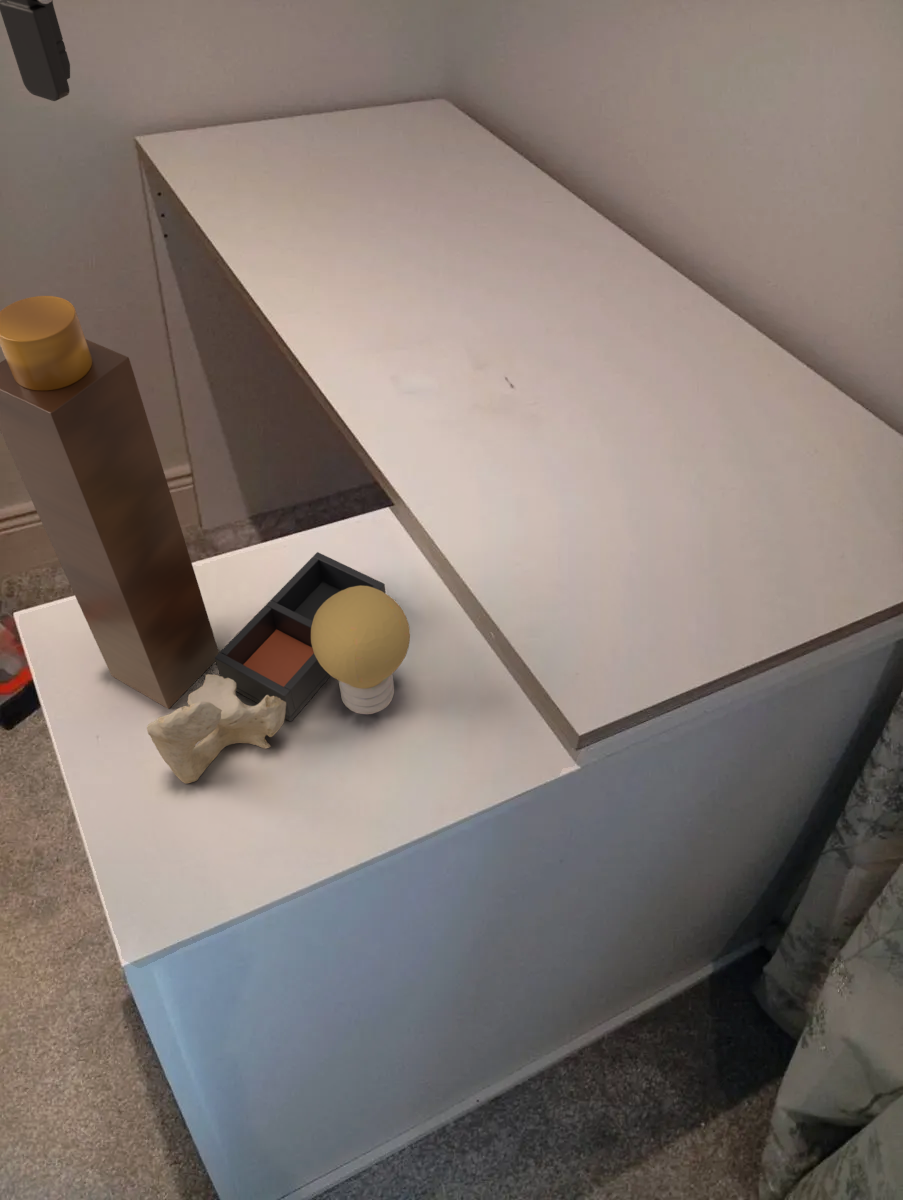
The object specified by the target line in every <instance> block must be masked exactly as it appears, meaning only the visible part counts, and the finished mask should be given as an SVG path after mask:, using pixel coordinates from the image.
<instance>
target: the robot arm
mask: <svg viewBox="0 0 903 1200" xmlns="http://www.w3.org/2000/svg"><path fill="white" fill-rule="evenodd" d="M0 14H1V18H2V21H3V24H4V27H5V30H6V34H7V36H8V39H9V43H10V45H11V49H12V52H13V55H14V58H15V61H16V65H17V67H18V71H19V74H20V78H21V80H22V83H23V86H24V88H26V90H27V91H28V92H29V93H30V94H32V95H33V96H35V97H39V98H42V99H44V100H45V99H46V100H49V101H52V102H57V101H58V100H61V99H63V98H65V97H67V96H68V95H70V85H69V82H68V80H69V79H70V78H71V63H70V59H69V55H68V52H67V50H66V44H65V42H64V38H63V35H62V31H61V27H60V23H59V20H58V17H57V13H56V9H55V6H54V0H0Z"/></svg>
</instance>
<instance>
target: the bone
mask: <svg viewBox="0 0 903 1200" xmlns="http://www.w3.org/2000/svg"><path fill="white" fill-rule="evenodd" d="M285 712H286V702H285V701H283V700H281V699H280V698H277V697H274V696H271V697H270V696H269V695H266V696H265V697H264V699H263V700H262V701H261V702H260V703H259V704H258V703H256V704H255V705H248V704H246V703H244V702H242V701H241V699H240V698H239V697H238V696H237V691H236V682H235V681H234V680H232V679H230V678H225V679H224V678H223V677H222V676H220V674H208V673H207V674H205V678H204V681H203V684H202V685H201V686H200V687H199V688H198V689H196V690H194V691H192V692H190V693H189V694H188V697H187V705H184V706H181V707H179V708H176V709H174V711H173V712H170V713H168V714H165V715H162V716H158V717H157V718H156V719H155V720H153V721H151V722H150V723H149V724H148V725H147V727H146V732H147V734H148V736H149V737H150V739H151V741H152V743H153V744H154V746H155V748H156V750H157V751H158V753H159V755H160V756H161V758H162V759H163V761H164V763H165V764H166V765H167V766H168V767H169V768H170V770H171V772H172V773H173V774H174V775H175V776H176V777H177V778H178V780H179V781H181V782H182V783H183V784H190V783H195V782H197V781H198V780H199V779H200V777H201V776H202V774H204V772H205V771H206V769H207V768H208V767H209V766H210V764H212V762H213V761H215V759H216V758H217V757H218V756H219V754H220V753H221V751H222V750H223V749H225V747H227V746H231V745H234V744H250V745H252V746H253V745H254V746H257V747H260V748H261V749H269V748H271V747H272V745H271V744H270V743H269V742H268V740H266V737H267V736H268V737H269V738H272V737H274V736H275V735H276V733H278V731H279V730H280V729H281V728H282V726H283V724H284V722H285V720H286V719H285Z"/></svg>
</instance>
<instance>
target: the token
mask: <svg viewBox="0 0 903 1200" xmlns="http://www.w3.org/2000/svg"><path fill="white" fill-rule="evenodd" d="M86 339H87V338H86V337H85V334H84V331H83V328H82V324H81V322H80V319H79V315H78V313H77V310H76V308H75V306H74V305H73V304H72V303H71V302H70V301H68V300H67V299H65V298H62V297H59V296H55V295H37V296H29V297H26V298H22V299H19V300H16V301H14V302H11V303H10V304H8V305H7V306H5V307H4V308H2V309H1V310H0V348H1V351H2V354H3V356H4V358H5V359H6V360H7V363H8V365H9V367H10V370H11V372H12V375H13V377H14V379H15V381H16V382H17V383H18V384H20V385H21V386H23V387H25V388H27V389H31V390H37V391H48V390H55V389H60V388H63V387H66V386H69V385H71V384H73V383H75V382H77V381H79V380H80V379H81V378H83V377H84V376H85V375H86V374H87V373H88V371H89V370H90V368H91V365H92V357H91V354H90V351H89V348H88V345H87V342H86Z"/></svg>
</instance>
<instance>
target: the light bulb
mask: <svg viewBox="0 0 903 1200" xmlns="http://www.w3.org/2000/svg"><path fill="white" fill-rule="evenodd" d="M410 632H411V631H410V624H409V622H408V619H407V616H406V614H405V612H404V609H403V608H402V607H401V606H400V605H399V604H398V602H396V600H395V599H394V598H393V597H391V596H390V595H388V594H387V593H386V592H385V593H384V592H382V591H380V590H378V589H375V588H373V587H369V586H354V587H350V588H347V589H344V590H342V591H340V592H338V593H336V594H334V595H333V596H331V597H330V598H329V599H327V600H326V601H325V602H324V603H323V604H322V605H321V606H320V608H319V609H318V610H317V612H316V614H315V616H314V619H313V622H312V626H311V644H312V648H313V651H314V655H315V656H316V658H317V660H318V662H319V664H320V665H321V666H322V667H323V669H324V670H325V671H326V672H327V673H329V674H330V675H331V676H330V677H332V678H333V679H335V680H337V681H338V686H339V690H340V698H341V701H342V702H343V705H345V707H346V708H348V709H349V710H350V711H351V712H353V713H356V714H359V715H360V714H361V715H373V714H376V713H378V712H381V711H383V710H384V709H386V708H387V707H388V706H389V705H390V703H391V702H392V700H393V697H394V694H395V684H394V675H393V673H395V671H396V670H398V669H399V667H400V666H401V664H402V663H403V662H404V660H405V658H406V656H407V654H408V650H409V648H410V642H411V641H410V640H411V633H410Z"/></svg>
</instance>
